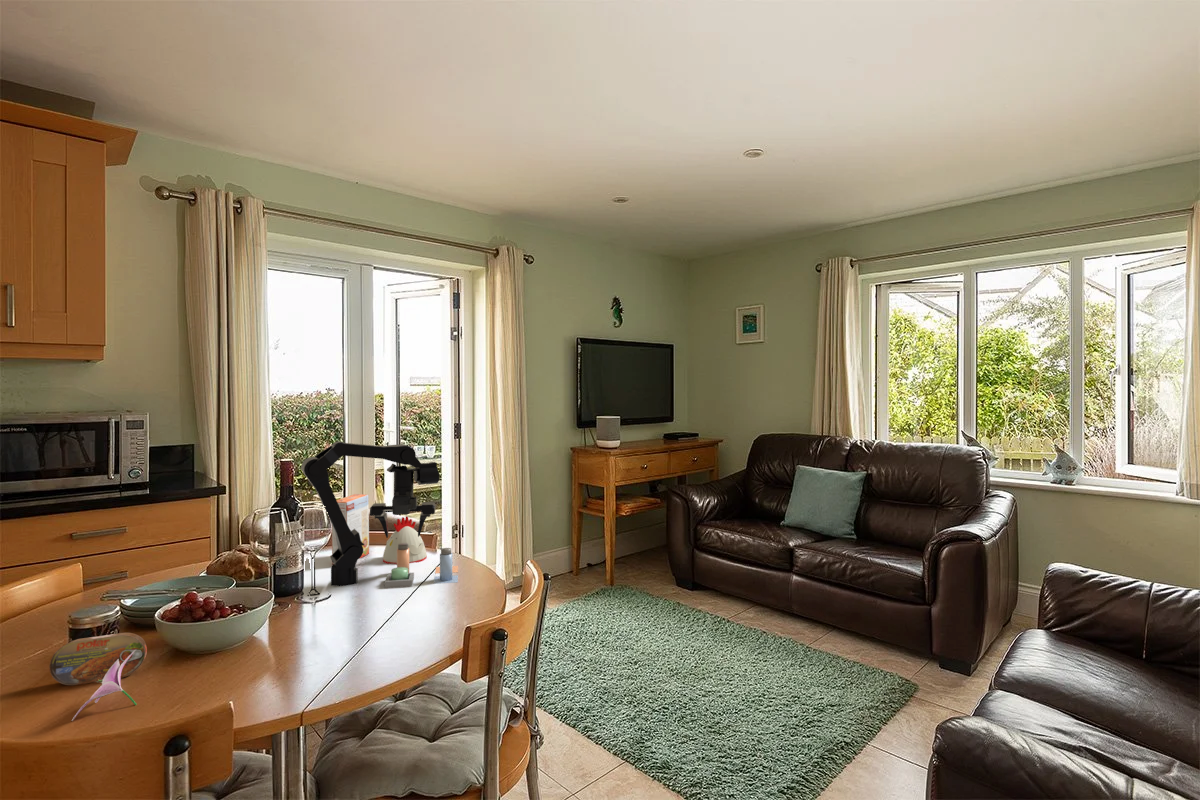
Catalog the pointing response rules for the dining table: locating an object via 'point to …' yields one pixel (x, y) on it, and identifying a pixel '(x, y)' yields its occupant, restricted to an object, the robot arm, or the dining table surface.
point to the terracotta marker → (403, 555)
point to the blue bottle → (445, 564)
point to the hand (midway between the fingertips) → (403, 536)
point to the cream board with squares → (409, 581)
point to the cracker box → (355, 519)
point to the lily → (109, 683)
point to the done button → (399, 573)
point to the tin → (97, 658)
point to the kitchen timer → (405, 535)
